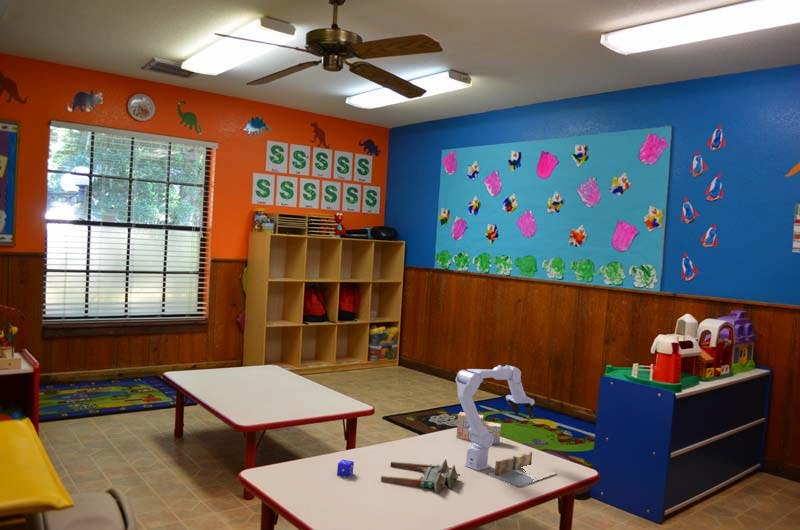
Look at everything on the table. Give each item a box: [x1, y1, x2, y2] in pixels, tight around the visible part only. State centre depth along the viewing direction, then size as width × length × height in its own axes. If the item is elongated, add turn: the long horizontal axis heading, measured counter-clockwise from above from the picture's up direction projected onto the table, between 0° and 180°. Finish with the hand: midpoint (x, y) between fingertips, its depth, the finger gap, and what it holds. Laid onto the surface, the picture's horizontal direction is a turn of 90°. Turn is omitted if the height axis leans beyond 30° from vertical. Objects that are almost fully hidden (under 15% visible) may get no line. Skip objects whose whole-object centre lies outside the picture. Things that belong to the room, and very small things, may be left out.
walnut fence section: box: [494, 455, 516, 476], centre depth 261 cm, size 14×2×6 cm, turn 134°
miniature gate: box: [380, 459, 461, 495], centre depth 247 cm, size 27×6×30 cm
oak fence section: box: [515, 451, 533, 469], centre depth 270 cm, size 12×2×5 cm, turn 134°
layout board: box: [487, 467, 537, 488], centre depth 261 cm, size 28×16×1 cm, turn 134°
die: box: [336, 459, 355, 478], centre depth 245 cm, size 5×5×5 cm
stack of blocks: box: [456, 411, 502, 445], centre depth 306 cm, size 21×6×12 cm, turn 74°
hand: (524, 415), depth 281 cm, fingers open, 7 cm apart
